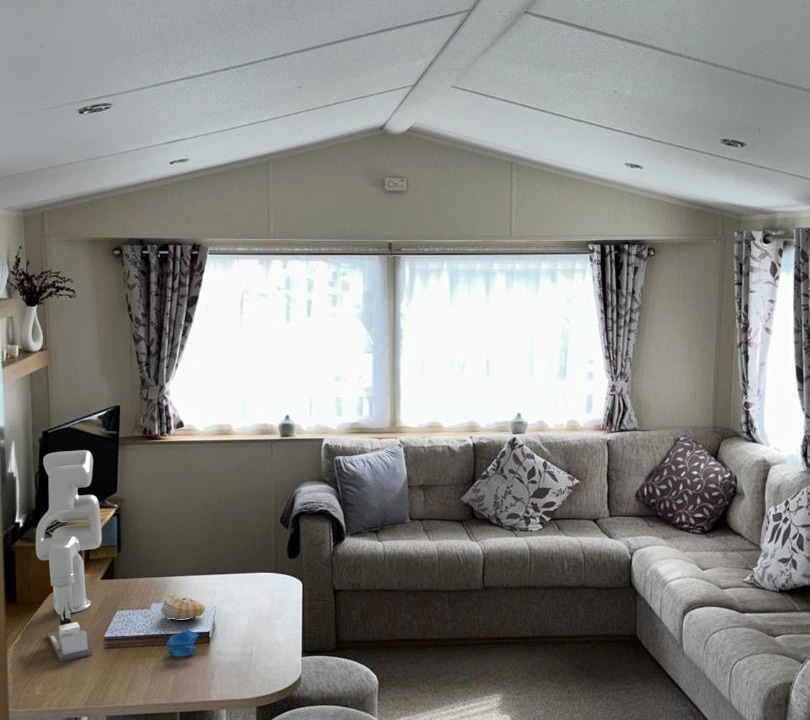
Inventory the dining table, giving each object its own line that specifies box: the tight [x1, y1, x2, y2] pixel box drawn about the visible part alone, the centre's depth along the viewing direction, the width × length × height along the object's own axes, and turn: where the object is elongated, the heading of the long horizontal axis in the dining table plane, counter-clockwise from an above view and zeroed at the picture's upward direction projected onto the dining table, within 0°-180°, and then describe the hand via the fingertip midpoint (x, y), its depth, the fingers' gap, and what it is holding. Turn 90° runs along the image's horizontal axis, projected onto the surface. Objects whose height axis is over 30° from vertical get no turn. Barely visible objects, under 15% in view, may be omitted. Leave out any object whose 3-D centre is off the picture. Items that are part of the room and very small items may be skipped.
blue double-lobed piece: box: [165, 629, 200, 658], centre depth 316 cm, size 7×9×12 cm
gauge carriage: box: [55, 621, 81, 644], centre depth 323 cm, size 5×8×5 cm, turn 120°
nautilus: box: [160, 595, 206, 619], centre depth 349 cm, size 8×22×15 cm
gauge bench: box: [47, 629, 93, 663], centre depth 326 cm, size 24×10×8 cm, turn 30°
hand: (66, 629), depth 330 cm, fingers closed
